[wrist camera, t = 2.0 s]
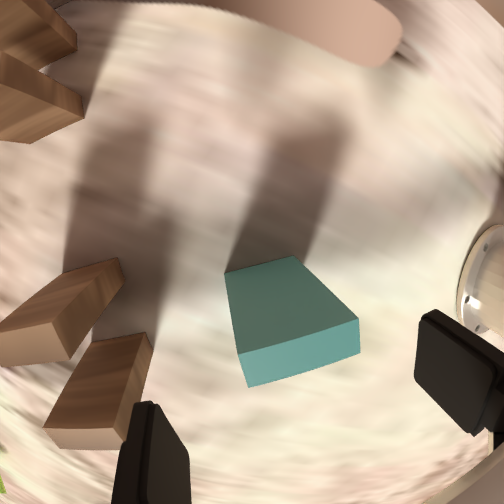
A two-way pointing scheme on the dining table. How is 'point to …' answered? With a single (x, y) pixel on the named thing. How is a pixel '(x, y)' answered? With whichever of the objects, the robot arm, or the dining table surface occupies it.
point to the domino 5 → (287, 321)
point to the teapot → (2, 486)
